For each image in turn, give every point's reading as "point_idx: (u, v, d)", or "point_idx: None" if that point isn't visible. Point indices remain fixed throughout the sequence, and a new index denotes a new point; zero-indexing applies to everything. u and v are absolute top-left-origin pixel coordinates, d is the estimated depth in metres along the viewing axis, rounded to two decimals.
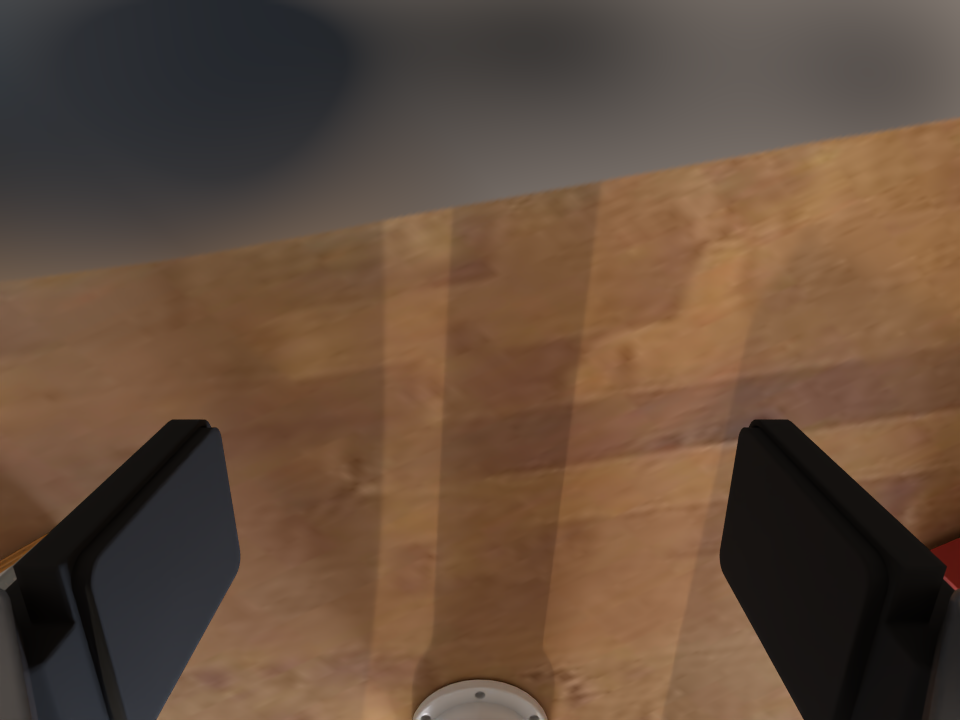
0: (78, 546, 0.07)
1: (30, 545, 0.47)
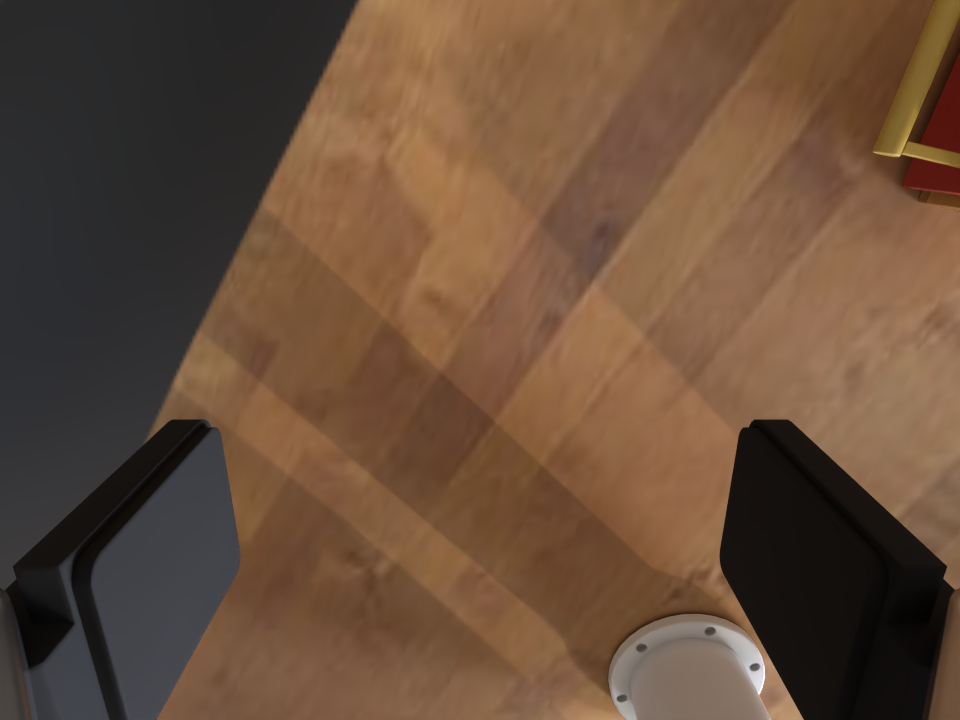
0: (78, 546, 0.07)
1: None
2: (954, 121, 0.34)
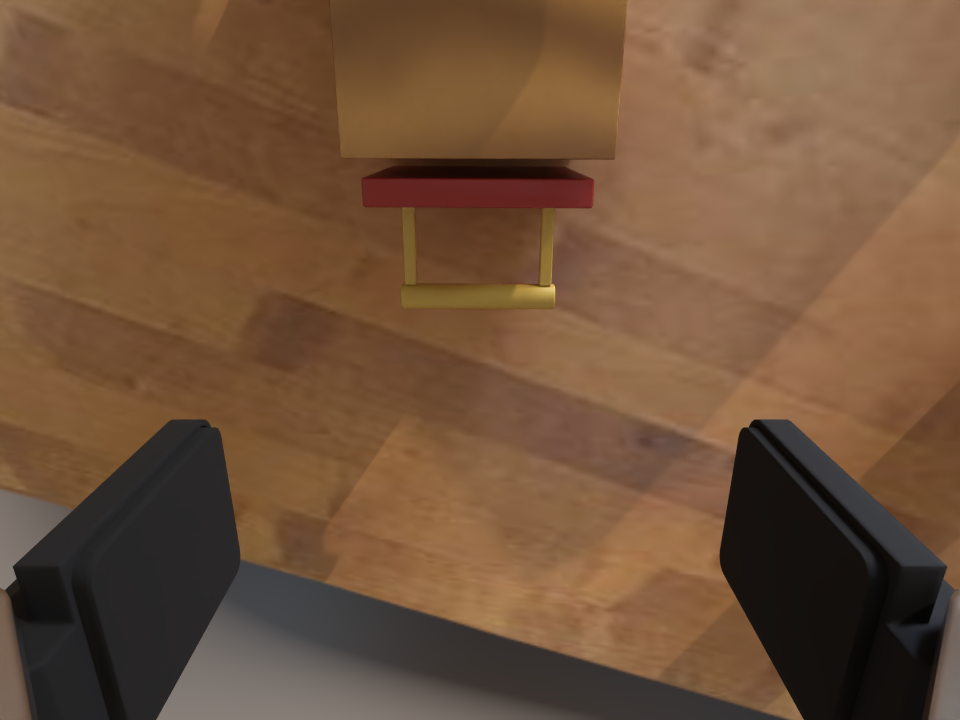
0: (78, 546, 0.07)
1: None
2: None
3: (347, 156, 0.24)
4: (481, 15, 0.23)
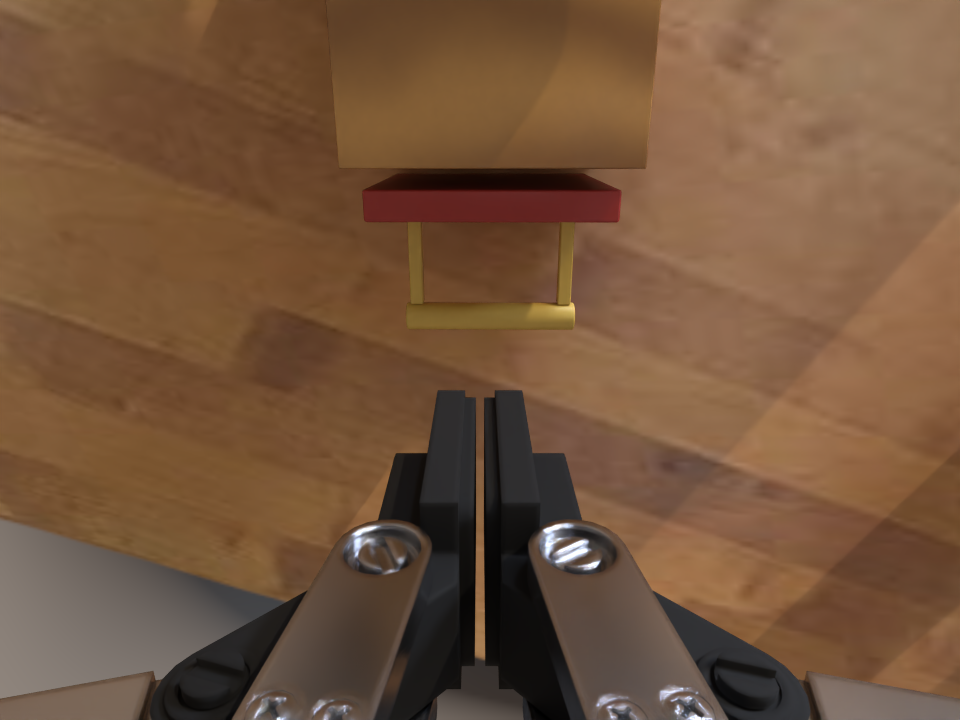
0: (457, 488, 0.08)
1: None
2: None
3: (346, 166, 0.22)
4: (496, 7, 0.20)
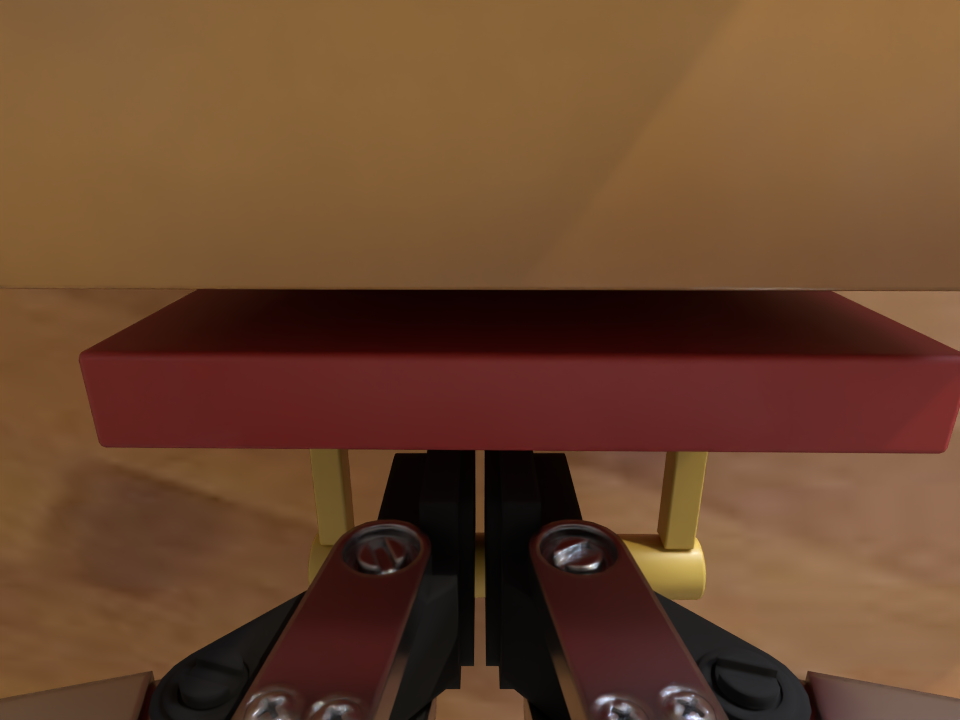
0: (456, 488, 0.08)
1: None
2: None
3: None
4: None
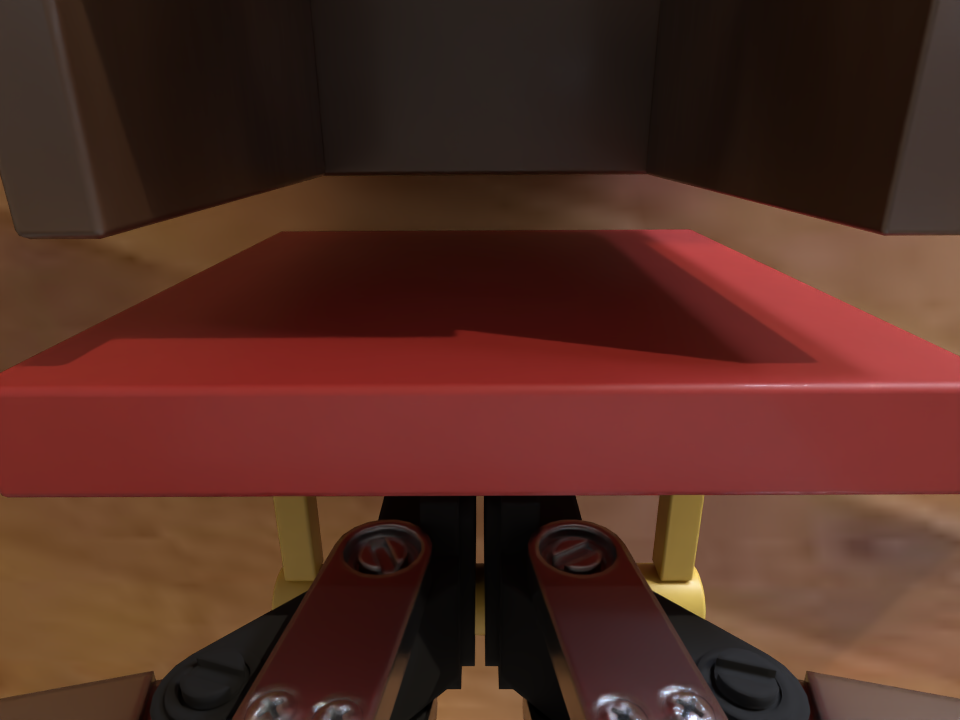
0: None
1: None
2: None
3: None
4: None
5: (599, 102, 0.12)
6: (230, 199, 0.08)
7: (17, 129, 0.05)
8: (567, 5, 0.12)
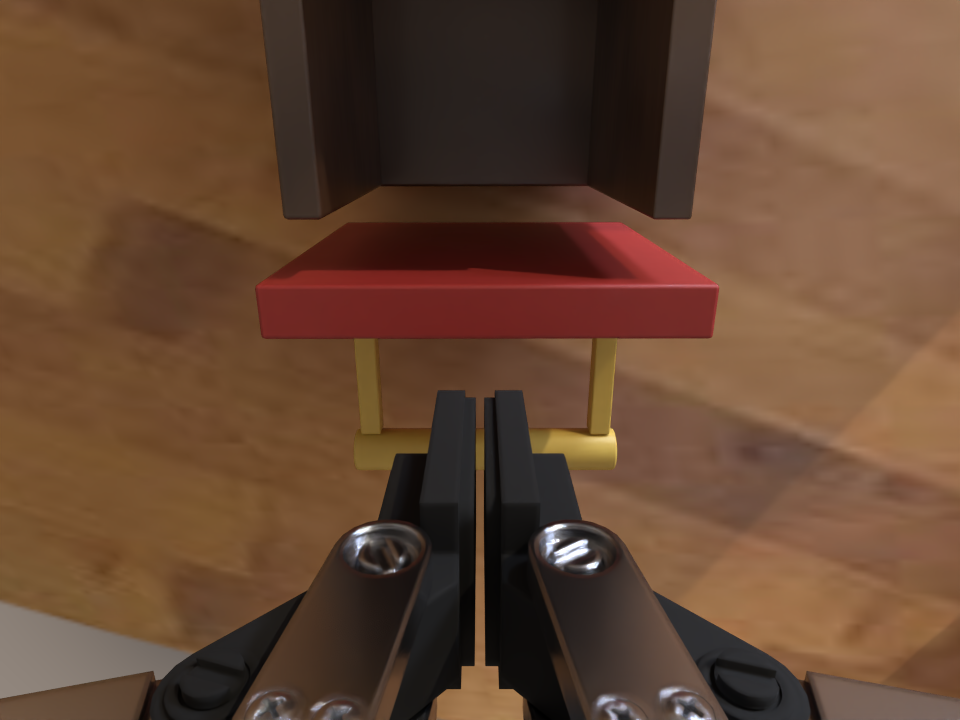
0: (457, 488, 0.08)
1: None
2: None
3: None
4: None
5: (556, 140, 0.20)
6: (349, 202, 0.15)
7: (292, 173, 0.12)
8: (535, 81, 0.19)
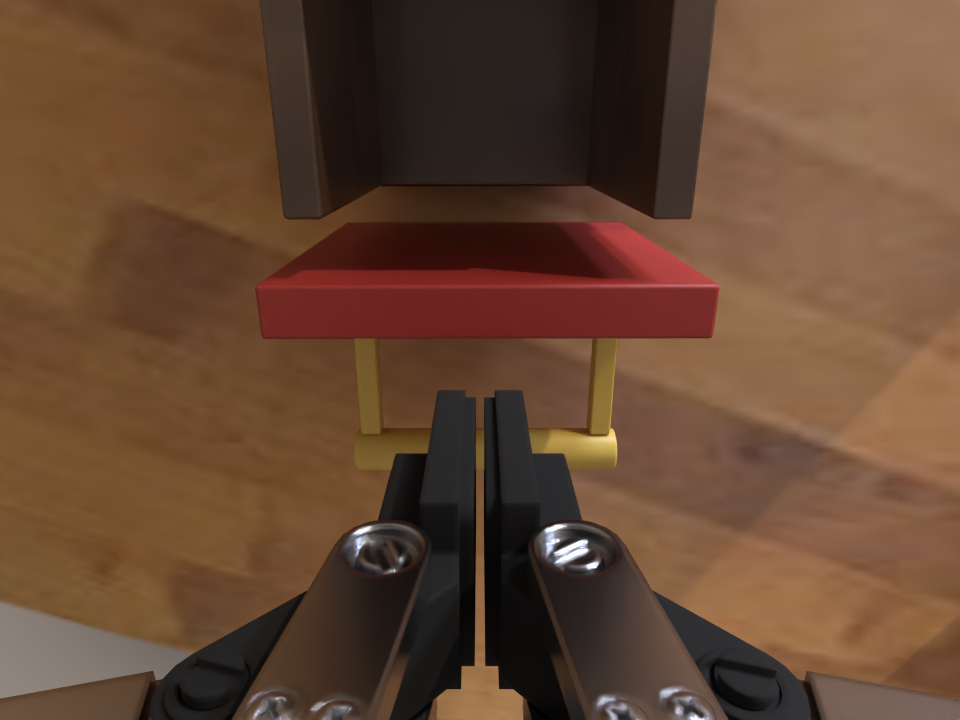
0: (457, 488, 0.08)
1: None
2: None
3: None
4: None
5: (556, 140, 0.20)
6: (349, 202, 0.15)
7: (292, 173, 0.12)
8: (535, 81, 0.19)
